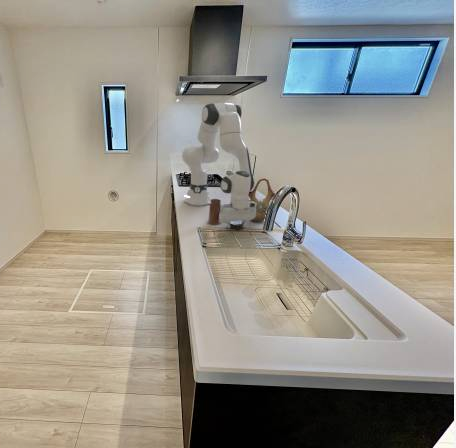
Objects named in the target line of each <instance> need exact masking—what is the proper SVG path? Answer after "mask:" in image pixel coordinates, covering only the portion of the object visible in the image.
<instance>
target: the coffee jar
mask: <svg viewBox="0 0 456 448" xmlns="http://www.w3.org/2000/svg"><path fill="white" fill-rule="evenodd" d="M210 202H211V203H210V204H209V209H208V221H207V224H209V225H214V226H216V225H219V224H220V222H221V221H220V220H219V214H220V208H221V206H222V204H221V199H218V198H212V199H210Z"/></svg>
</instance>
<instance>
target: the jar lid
mask: <svg viewBox="0 0 456 448" xmlns="http://www.w3.org/2000/svg"><path fill="white" fill-rule="evenodd" d="M229 224H230V225H231V226H232V227H231V228H230V229H231V230H234V231H241V230H242V229H243V227H242V225H243V223H242V222H241V221H240V220H238V221H230V223H229Z"/></svg>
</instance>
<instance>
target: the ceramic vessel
mask: <svg viewBox="0 0 456 448" xmlns="http://www.w3.org/2000/svg"><path fill="white" fill-rule="evenodd" d="M262 181H264V182H266V186H267V194H266V196H265V198H262V199H258V198H257V197H256V192H257V189H258V187H259V185H260V184H261V182H262ZM275 194H276V193H275V192H274V191H273V190H272V187H271V185H270V180H269V179H267V178H265V177H263V178H260V179H259V180H258V181H257V182H256V184H255V185H254V187H253V189H252V190H251V191H250V192H249V194H248V196H249V200H250V201H253V202H255V203H256V204H257V205H256V217H255V218H254V219H250V220H251V221H252V222H255V223H260V222H263V221H265V220H266V219H265V215H266V211H267V209H268V207H269V206H270V202H271V200H272V199H273V198H274V197H275V196H276V195H275ZM264 219H265V220H264Z"/></svg>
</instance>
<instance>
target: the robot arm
mask: <svg viewBox="0 0 456 448" xmlns="http://www.w3.org/2000/svg"><path fill="white" fill-rule="evenodd" d="M242 113H243V111H242V108H241V105H239V104H237V103H228V102H222V103H221V102H220V103H219V102H217V103H214V102H213V103H208V104H206V105H204V107H203V108H202V111H201V123H200V125H199V130H198V133H197V141H198V142H199V143H200V144H202V145H201V146H190V147H186V148H184V149H183V150H182V154H181V158H182V159H181V160H182V161H183V162H184V164H186V165H187V166H188V168H189V170H190V183H189V189H188V190H187V194H184V195H183V196H184V197H185V198H186V199H185V200H184V203H187V204H188V205H191V206H196V207H198V206H199V207H201V206H206V205H210V203H211V199H210V196H209V194H210V193H209V191H208V171H207V170H206V169H204V168H202V166H201V165H202V164H211V163H215V162H217V161H218V160H219V158H220V150H219V149H218V148H217V146H216V145H215V144H216V143H215V141H216V138H217V134H218V131H219V145H220V148H221V149H222V150H223V151H224V152H226V153H227V154H230V155H232V156H234V157H236V158H237V160H238V164H239V170H237V171H235V172H234V173H233V174H229V175H226V176H223V178H221V181H220V185H219V187H220V189H221V191H222V192H223V193H224V194H230V195H231V196H230V201H229V203H226V204H223V205H221V208H220V214H219V220H220V221H219V222H222V223H226V227H227V229H228V230H229V229H231V227H232V226H231V225H230V222H231V221H242V222H241V223H243V225H242V228H245V225H246V224H247V222H248V221H249V220H251V219H254V218H255V217H256V205H257V204H256V203H255V202H253V201H250V198H249V196H248V194H249V192H250V191H253V189H254V188H255V180H254V176H253V173H252V166H251V159H250V153H249V149H248V146H247V145H246V144H245V142H244V140H243V136H242V135H243V133H242V123H241V122H242V121H241V118H242Z"/></svg>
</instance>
